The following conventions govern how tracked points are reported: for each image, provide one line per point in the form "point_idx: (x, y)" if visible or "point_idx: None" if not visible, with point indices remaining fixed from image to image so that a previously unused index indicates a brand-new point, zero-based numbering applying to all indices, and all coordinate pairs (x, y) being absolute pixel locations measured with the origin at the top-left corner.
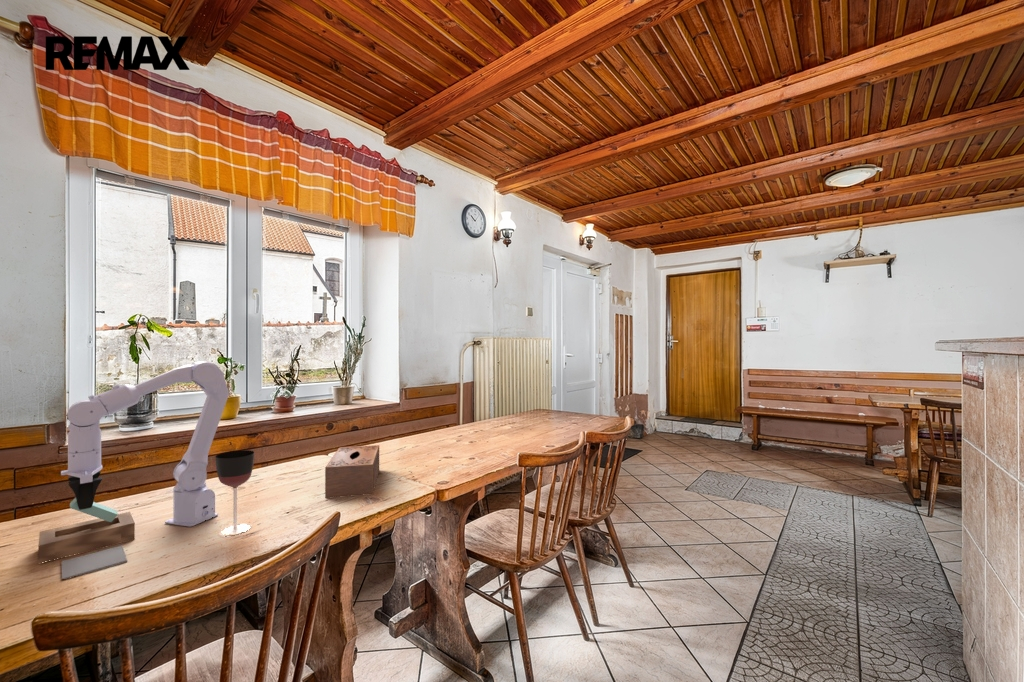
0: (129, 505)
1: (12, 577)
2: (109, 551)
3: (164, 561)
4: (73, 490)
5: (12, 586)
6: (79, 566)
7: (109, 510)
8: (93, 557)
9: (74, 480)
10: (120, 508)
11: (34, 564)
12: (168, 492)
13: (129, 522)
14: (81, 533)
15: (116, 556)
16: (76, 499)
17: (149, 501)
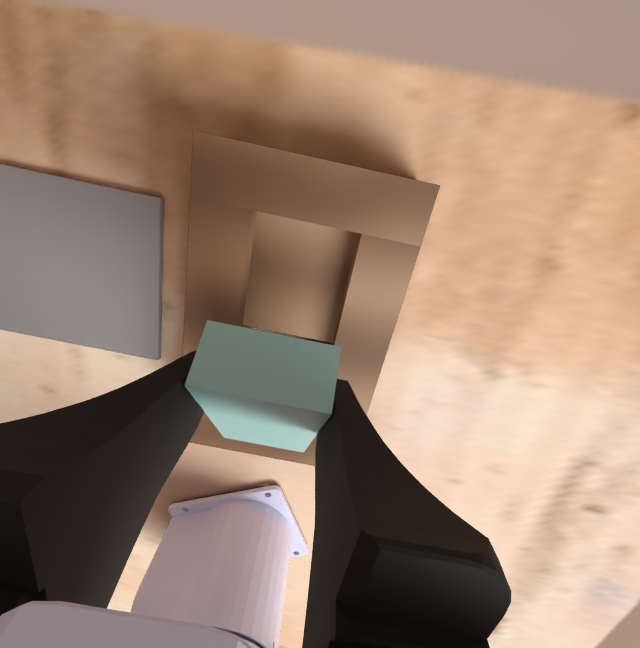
0: (608, 493)
1: (154, 35)
2: (130, 322)
3: None
4: (7, 423)
5: (43, 15)
6: (50, 225)
7: (241, 435)
8: (111, 276)
9: (343, 541)
10: (609, 470)
11: (241, 128)
12: (604, 584)
13: (199, 432)
14: (216, 296)
15: (60, 321)
16: (139, 380)
17: (574, 532)
